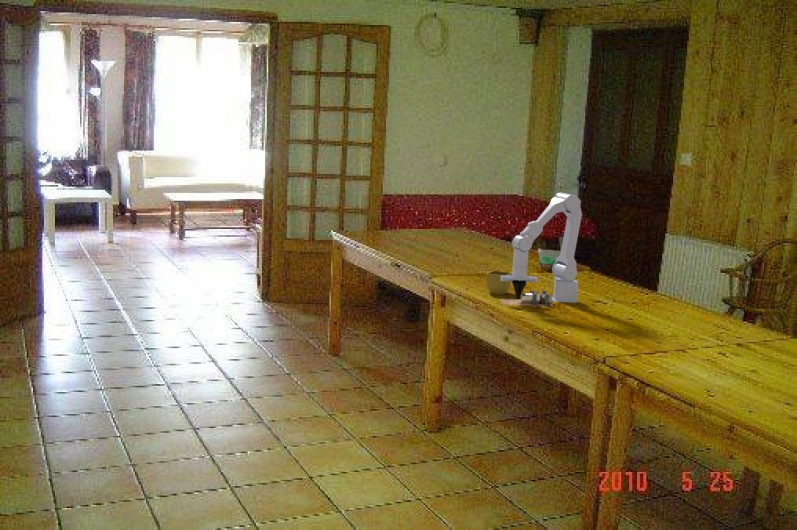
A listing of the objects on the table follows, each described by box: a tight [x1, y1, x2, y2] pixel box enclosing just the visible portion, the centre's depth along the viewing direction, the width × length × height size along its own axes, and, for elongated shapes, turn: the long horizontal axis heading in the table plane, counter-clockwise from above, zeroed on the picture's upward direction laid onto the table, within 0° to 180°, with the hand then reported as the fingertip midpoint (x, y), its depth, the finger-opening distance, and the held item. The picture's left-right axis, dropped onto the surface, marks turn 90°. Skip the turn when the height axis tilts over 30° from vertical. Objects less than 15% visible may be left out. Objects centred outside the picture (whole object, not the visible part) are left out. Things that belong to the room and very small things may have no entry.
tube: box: [520, 293, 553, 304], centre depth 329 cm, size 12×4×4 cm, turn 93°
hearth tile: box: [499, 298, 554, 307], centre depth 330 cm, size 20×10×1 cm, turn 91°
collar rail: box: [528, 289, 552, 307], centre depth 330 cm, size 7×10×4 cm
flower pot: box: [485, 270, 512, 296], centre depth 345 cm, size 9×9×9 cm
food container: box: [537, 248, 561, 270], centre depth 402 cm, size 12×6×10 cm, turn 73°
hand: (517, 299), depth 330 cm, fingers closed
